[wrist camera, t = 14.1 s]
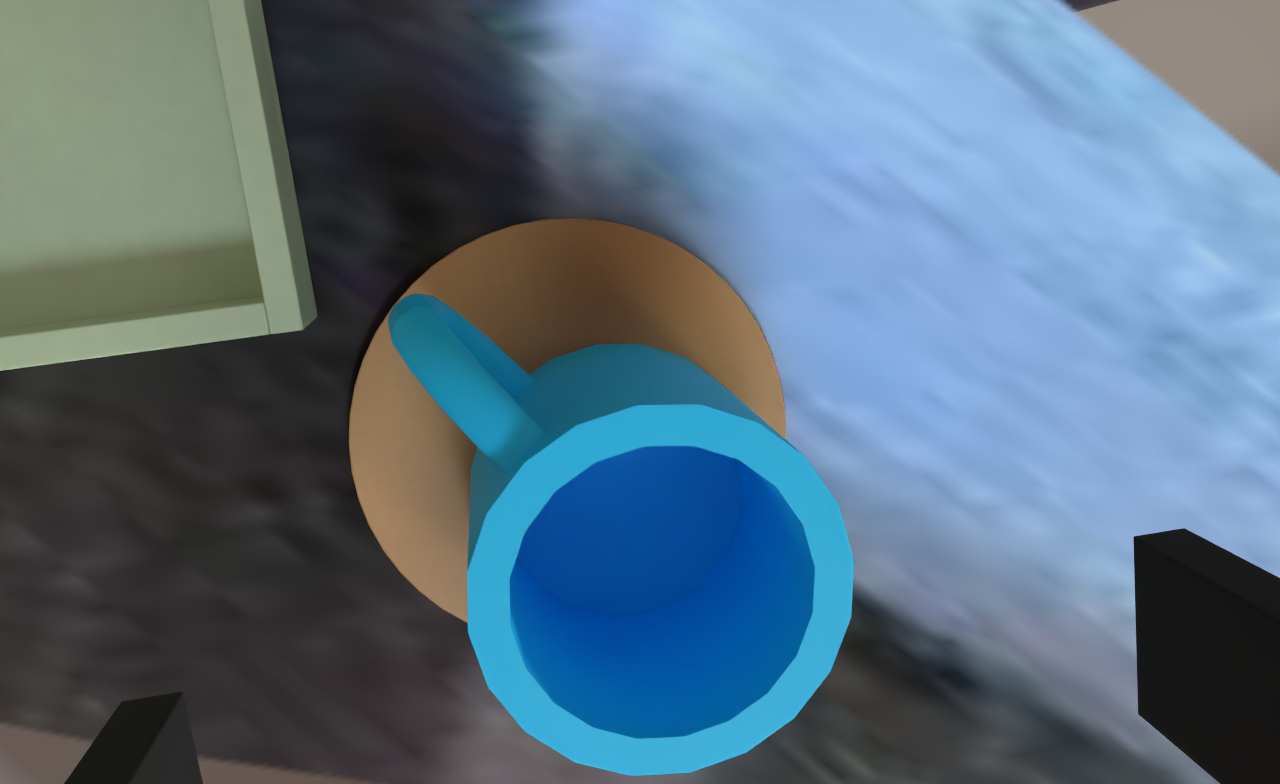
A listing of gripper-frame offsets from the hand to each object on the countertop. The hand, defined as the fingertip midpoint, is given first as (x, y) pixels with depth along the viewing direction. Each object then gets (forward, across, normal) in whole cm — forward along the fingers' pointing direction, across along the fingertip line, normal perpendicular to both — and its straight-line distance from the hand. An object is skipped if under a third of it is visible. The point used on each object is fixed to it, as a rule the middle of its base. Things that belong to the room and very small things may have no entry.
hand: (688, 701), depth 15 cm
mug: (+16, -1, 0) cm, 16 cm away
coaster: (+16, 0, 0) cm, 16 cm away
